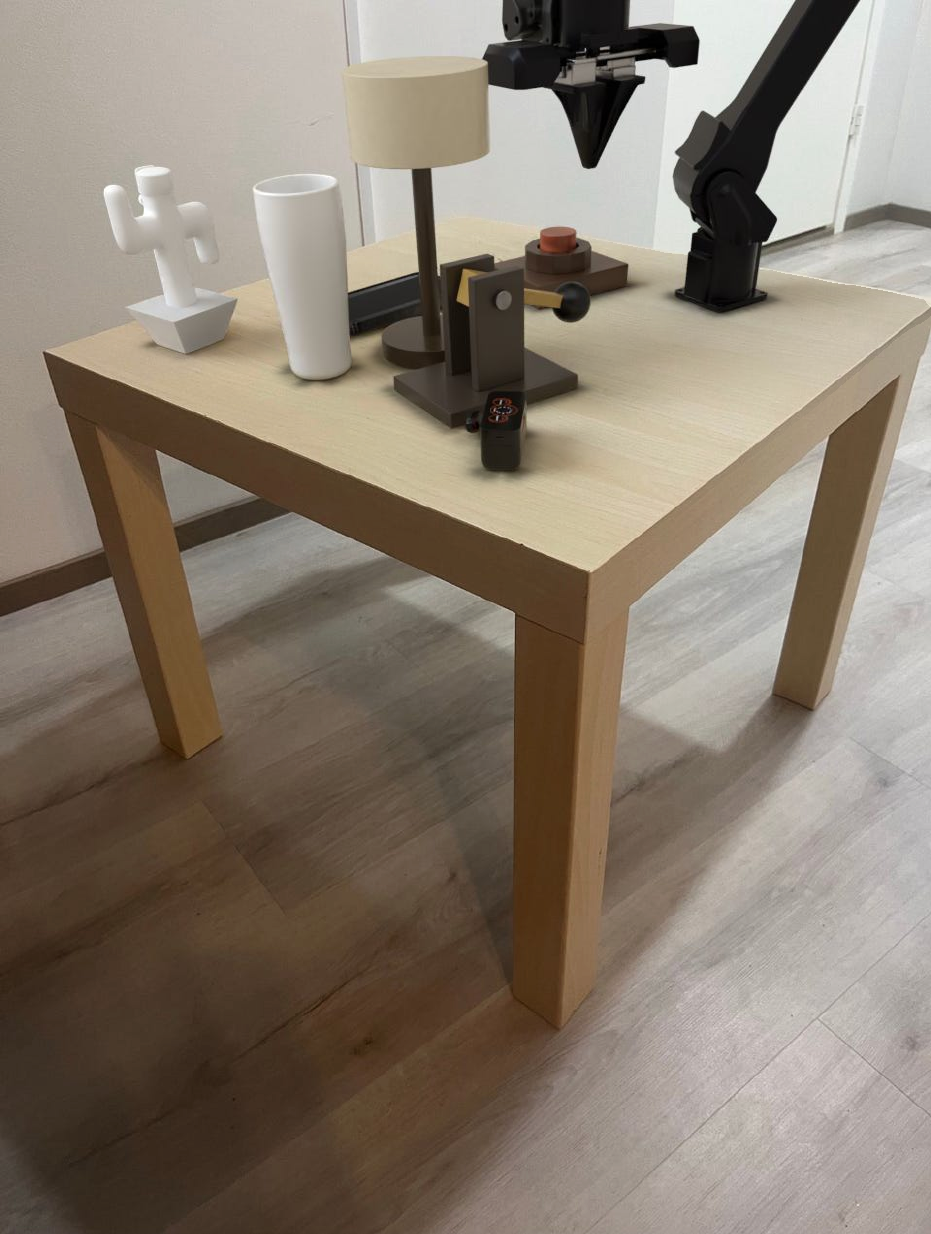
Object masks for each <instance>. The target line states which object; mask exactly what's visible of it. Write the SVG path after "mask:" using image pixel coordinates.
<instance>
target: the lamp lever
mask: <svg viewBox="0 0 931 1234" xmlns="http://www.w3.org/2000/svg"><path fill="white" fill-rule="evenodd" d="M484 273H488V272H482V271H475V270H469V269H463V272H462V277H461V281H460V286H459V291H458V296H457V301H458V302H460V303H462V304H464V305H466V306H468V307H469V294H468V277H472V276H476V275H480V274H484ZM591 300H592V299H591V295H589V292H588V290H587V289H586V288H585V287H584V286H583V285H582V284H580V283H578V282H566V283H563V284H561V285H560V286H559V287H558V288H557V289H556V290H555V292H547V291H540V290H533V289H526V288H524V305H530V306H532V305H537V306H545V308H551V309H552V312H553V315H554V316H555V317H556V318H557V319H558V320H559V321H561V322H563V323H566V324H567V323H569V324H572V323H573V324H574V323H577V322H579V321H581V320H583V319H584V318H585V317H586V316H587V314H588V313H589V311H590V308H591Z"/></svg>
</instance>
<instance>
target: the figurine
mask: <svg viewBox="0 0 931 1234" xmlns="http://www.w3.org/2000/svg"><path fill="white" fill-rule="evenodd" d="M134 177H135V181H136V186H137V192H138V193H139V195H138V198H137V201H138V203H139V204H140V205H142V206H143V214H142V215H139V216H136V217H135V215H134V213H133V209H132V207H131V202H130V199H129V198H130V197H129V195H128V193H127V190H126V189H125V188H124V187H123V186H121V185H119V184H109V185H107V186H105V187H104V189H103V199H104V202H105V206H106V211H107V213H108V218H109V221H110V226H111V229H112V233H113V237H114V239H115V241H116V244H117V246H118V248H119V249H120V250H121V251H122V252H123V253H125V254H126V255H131V256H136V255H139V254H142V253H145V252H150V251H152V250H153V252H154V253H153V254H154V257H155V261H156V266H157V270H158V274H159V279H160V283H161V287H162V292H163V293H162V294H159V295H156V296H154V297H153V296H152V297H151V298H148V299H145V300H142V301H139V302H136V303H132V304H130V305H127V306H124V308H125V310H126V311H128V312H129V314H130V315H131V316H132V317H133V318H134V319H135V321H136V322H137V323H138V324H139V325H140V326H141V328H142V329H143V330H144V331H145V333H147V334H148V335H149V337H150V338H151V339H152V341H154V343H155V344H156V345H158V346H160V347H164V348H167V349H169V350H171V351H176V352H178V353H181V354H184V355H187V354H190V353H192V352H195V351H197V350H200V349H203V348H205V347H208V346H211V345H213V344H216V343H219V342H220V341H223V340H224V339H225V337H226V334H227V332H228V328H229V326H230V324H231V323H230V322H231V319H232V317H233V314H234V311H235V308H236V306H237V303H238V300H239V298H237V297H233V296H230V295H226V294H222V293H219V292H215V291H212V290H208V289H204V288H200V287H197V286H195V285H194V281H193V275H192V273H191V267H190V263H189V258H188V254H187V248H186V245H185V244H186V240H189V239H192V240H193V242H194V246H195V250H196V254H197V255H196V256H197V258H198V260H199V261H200V262H201V263H203V264H205V265H216V264H217V263H219V261H220V251H219V247H218V246H219V245H218V240H217V237H216V236H217V235H216V231H215V226H214V222H213V217H212V215H211V212H210V210H209V208H208V207H207V205H206V204H204V203H203V202H200V201H190V202H186V203H183V204H179V205H177V202H176V197H175V192H174V183H173V177H172V170H171V169H170V168H167V167H165V166H155V165H153V164H149V165H143V166H138V167H136V168H135V169H134Z"/></svg>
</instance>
